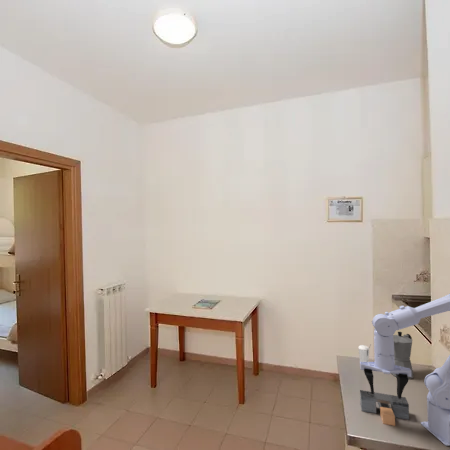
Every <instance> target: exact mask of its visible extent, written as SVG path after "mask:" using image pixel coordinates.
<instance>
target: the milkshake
mask: <svg viewBox="0 0 450 450" xmlns="http://www.w3.org/2000/svg"><path fill="white" fill-rule="evenodd" d="M371 346H372V344H369V346H367V345H365V344H359V346H357V348H358V354H359V363H360V362H369V359H370V358H369V357H370V356H369V355H370V348H371Z"/></svg>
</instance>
